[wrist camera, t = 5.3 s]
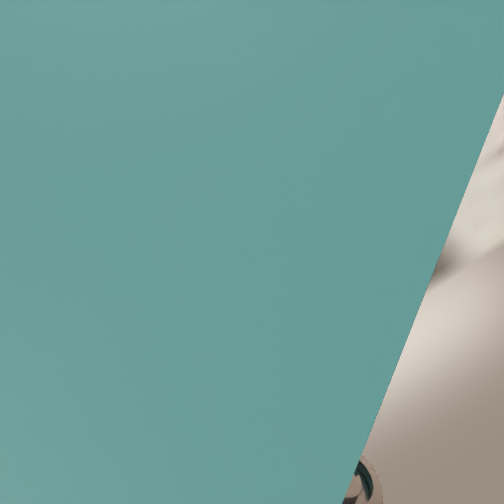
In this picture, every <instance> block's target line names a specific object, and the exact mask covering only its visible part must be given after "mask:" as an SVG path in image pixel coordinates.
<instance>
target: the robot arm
mask: <svg viewBox="0 0 504 504" xmlns="http://www.w3.org/2000/svg"><path fill="white" fill-rule="evenodd" d="M342 504H383V496H382V488H381V484H380V480H379V477H378V475H377V473H376V471H375V469H374V468H373V466H372V465H371V464H370V463H369V461H368V460H367V459H366V458H365V457H364V456H362V455H361V457H360V459H359V462H358V464H357V467H356V470H355V472H354V475H353V477H352V480H351V482H350V485H349V487H348V490H347V492H346V495H345V497H344V500H343V503H342Z"/></svg>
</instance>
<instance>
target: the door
mask: <svg viewBox="0 0 504 504" xmlns="http://www.w3.org/2000/svg"><path fill="white" fill-rule="evenodd" d="M503 94H504V0H0V504H342V503H343V500H344V497H345V495H346V492H347V490H348V487H349V485H350V482H351V480H352V477H353V475H354V472H355V470H356V467H357V464H358V462H359V459H360V457H361V454H362V452H363V449H364V447H365V444H366V442H367V439H368V436H369V434H370V431H371V429H372V426H373V424H374V421H375V419H376V416H377V414H378V411H379V409H380V406H381V404H382V401H383V398H384V396H385V393H386V391H387V388H388V386H389V383H390V381H391V378H392V376H393V373H394V371H395V368H396V366H397V363H398V360H399V358H400V355H401V353H402V350H403V348H404V345H405V342H406V340H407V338H408V335H409V333H410V330H411V327H412V325H413V322H414V320H415V317H416V315H417V312H418V310H419V307H420V305H421V302H422V300H423V297H424V294H425V292H426V289H427V287H428V284H429V282H430V279H431V277H432V274H433V272H434V269H435V267H436V264H437V261H438V259H439V256H440V254H441V251H442V249H443V246H444V244H445V241H446V239H447V236H448V234H449V231H450V228H451V226H452V223H453V221H454V218H455V216H456V213H457V211H458V208H459V206H460V203H461V201H462V198H463V195H464V193H465V190H466V188H467V185H468V183H469V180H470V178H471V175H472V173H473V170H474V168H475V165H476V162H477V160H478V157H479V155H480V152H481V150H482V147H483V145H484V142H485V140H486V137H487V135H488V132H489V129H490V127H491V124H492V122H493V119H494V117H495V114H496V112H497V109H498V107H499V104H500V102H501V99H502V96H503Z"/></svg>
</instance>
